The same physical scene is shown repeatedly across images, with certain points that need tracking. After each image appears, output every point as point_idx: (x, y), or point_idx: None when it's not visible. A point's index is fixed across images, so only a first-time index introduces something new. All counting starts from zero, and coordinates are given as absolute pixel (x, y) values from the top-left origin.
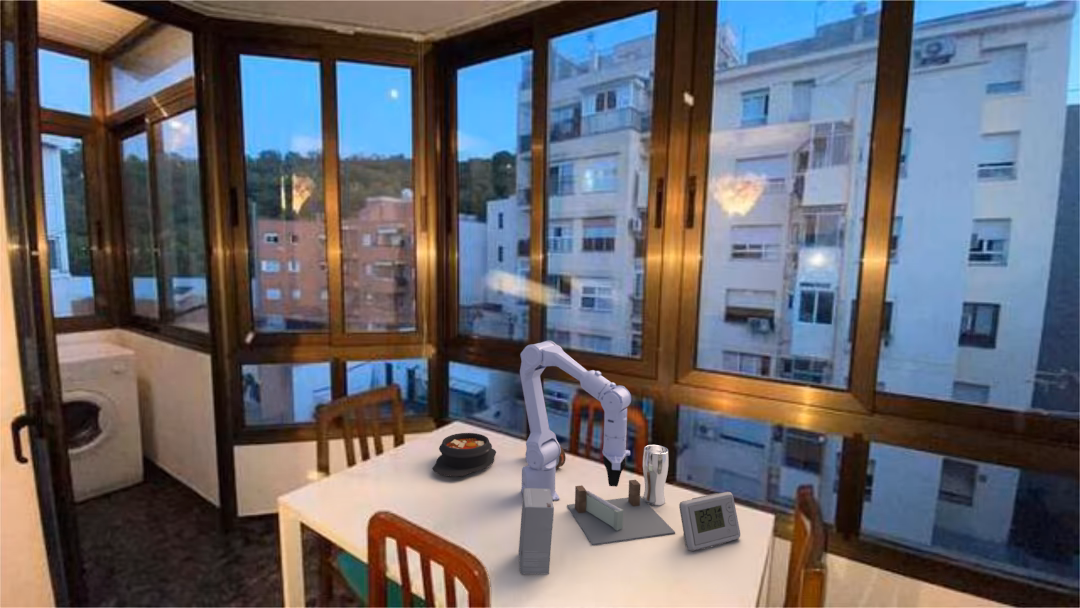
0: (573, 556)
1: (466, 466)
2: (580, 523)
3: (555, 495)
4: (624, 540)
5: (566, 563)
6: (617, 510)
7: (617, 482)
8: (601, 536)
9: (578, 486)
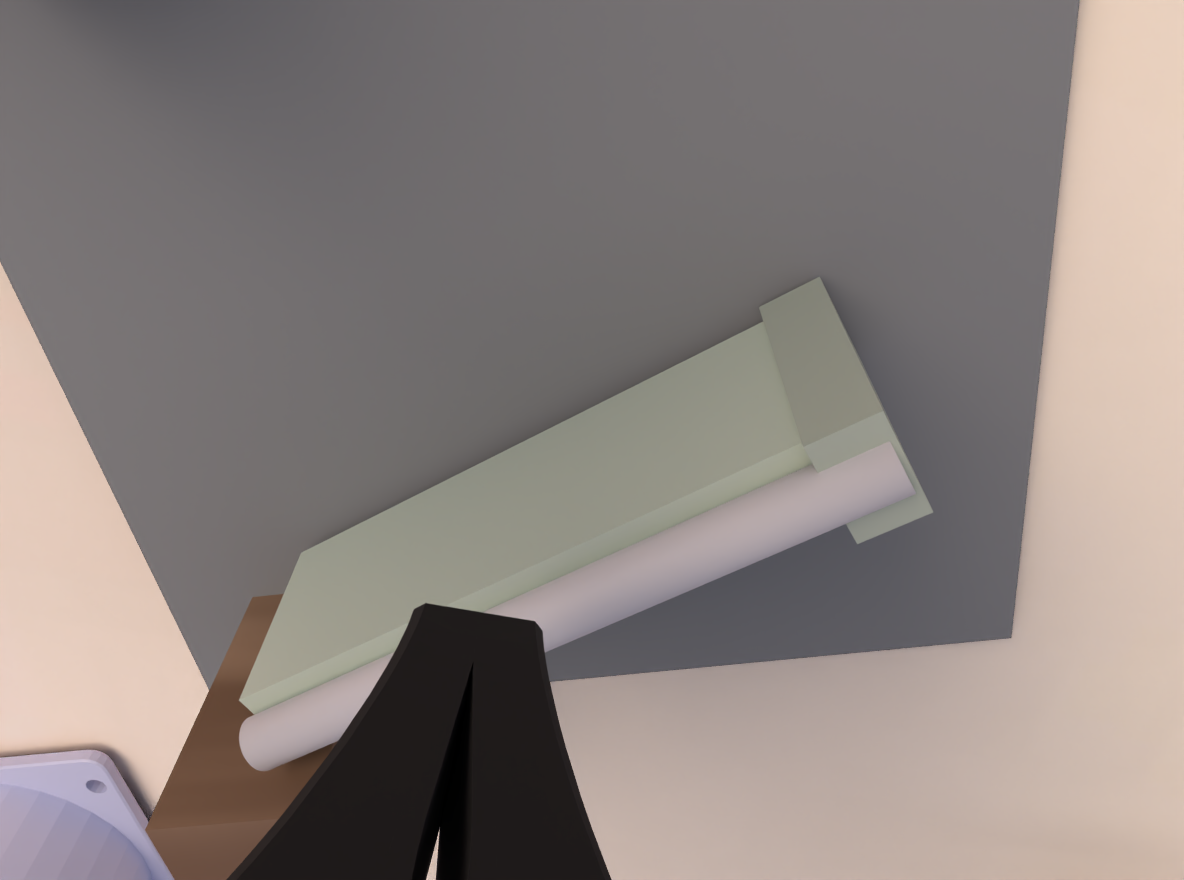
0: (1102, 777)
1: None
2: (613, 666)
3: (43, 785)
4: (1040, 305)
5: (1170, 828)
6: (888, 506)
7: (548, 704)
8: (907, 536)
9: (190, 872)
